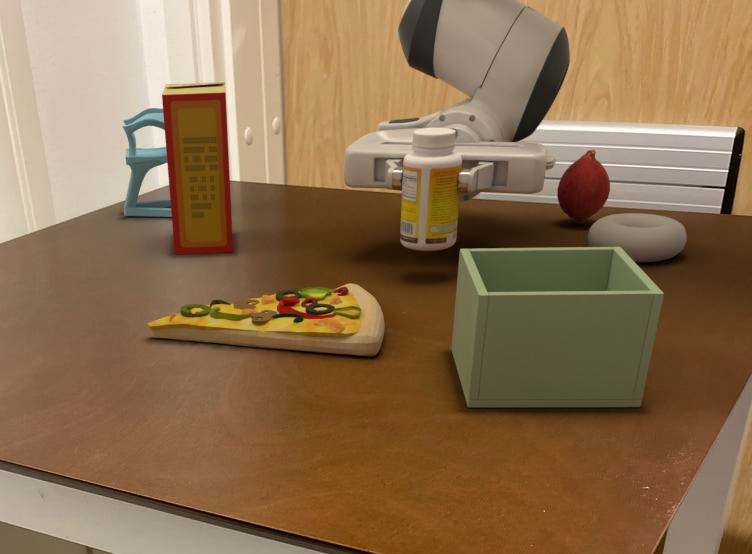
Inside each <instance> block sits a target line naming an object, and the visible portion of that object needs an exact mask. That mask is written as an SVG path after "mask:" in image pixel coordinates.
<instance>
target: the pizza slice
mask: <svg viewBox="0 0 752 554" xmlns="http://www.w3.org/2000/svg"><path fill="white" fill-rule="evenodd" d="M146 324H147V328H148V329H149V331H150V335H151V338H154V339H169V340H176V341H184V342H185V341H188V342H199V343H201V342H202V343H213V344H223V345H233V346H243V347H251V348H263V349H275V350H287V351H296V352H297V351H298V352H311V353H324V354H335V355H351V356H360V357H375V356H376V355H378V353H379V352H380V350H381V347H382V344H383V341H384V336H385V328H386V327H385V326H386V323H385V318H384V312H383V310H382V307H381V305H380V303H379V302H378V300H377V299H376V298H375V296H374V295H372V294H371V293H370V292H368V291H367V290H365V288H364V287H362V286H360V285H359V284H356V283H351V282H349V283H346V284H344V285H341V286H339V287H337V288H329V287H325V286H324V287H323V286H317V287H315V286H313V287H304V288H301V289H300V290H298V289H283V290H279V291H277V292H276V293H273V294H271V295H267V294H263V295H262V296H261V297H255V298H254V297H253V298H248V299H242V300H237V301H236V302H234V303H229V302H227V301H225V300H223V299H213V300H212V301H211V303H210V304H201V303H199V304H198V303H189V304H183V305H181V306H180V312H179V313H175V312H170V313H169V315H167V316H164V317H161V318H158V319H156V320H152V321H150V322H147V323H146Z"/></svg>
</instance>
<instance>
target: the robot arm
mask: <svg viewBox="0 0 752 554" xmlns="http://www.w3.org/2000/svg"><path fill="white" fill-rule="evenodd" d="M397 33H398V39H399V43H400V47H401V50H402V53H403V55H404V59H405V60H406V62H407V65H408V67H410V68H411V69H414V70H416V71H418V72H421V73H423V74H425V75H427V76H429V77H432V78H434V79H435V80H438V79H439V80H440V81H442V82H444V83H445V84H447V85H449V86H450V87H452V88H454V89H456V90H458V91H459V92H461V93H463V94H465V95H466V96H468V97H467V98H465V99H462V100H460V101H458V102H456V103H455V104H453V105H451V106H450V107H449V108H448V109H446V110H444V111H443V110H439V111H437V112H434V113H431V114H427V115H425V116H419V117H410V118H400V119H399V118H398V119H390V120H383V121H381V122H380V123H378V124H377V128H376V131H372V132H369V133H366V134H364V135H363V136H361V137H359V138H357V139H356V140H355V141H353V142H351V144H349V145H348V146H347V148H345V152H344V159H343V175H344V176H343V177H344V184H345V185H346V186H347V187H349V188H352V189H353V188H354V189H360V188H361V189H383V190H391V191H401V192H402V180H403V160H404V157H405V156H406V155H407V154H408V153H411V152H414V150H413V149H412V146H413V145H412V142H413V132H414V131H415V130H417V129H422V128H448V129H453V130H455V132H456V134H455V148H454V149H453V150H452V151H455V152H457V153H459V154H460V155H461V157H462V169H461V171H460V172H459V176H458V181H459V182H460V183H459V184H458V192H460V197H459V204H460V203H463V202H464V203H465V202H468V201H470V200H472V199H474V198H475V197H477V196H478V195H479V194H481V193H492V194H493V193H496V194H523V195H532V194H537V193H540V192H542V191H543V189H544V185H545V179H546V172H547V171H548V170H552V169H553V168H554V166H555V164H556V162H557V161H556V157H555V156H554V155H548V149H547V147H546V146H545V145H544V144H542V143H537V142H523V140H525V139H527V138H529V137H530V136H532V135H533V134H534V133H535V132H536V130H537V129H538V128H539V126H540V125H541V123H542V122H543V121H544V119H545V118H546V116H547V114H548V112H549V111H550V109H551V108H552V106H553V105H554V102H555V100H556V98H557V96H558V94H559V92H560V90H561V88H562V86H563V84H564V81H565V79H566V76H567V73H568V70H569V67H570V62H571V55H570V42H569V37H568V33H567V30H566V27H564V26H562V25H561V24H559V23H557V22H555V21H554V20H553V19H551V18H549V17H548V16H546V15H545V14H543V13H541V12H539V11H538V10H536V9H534V8H533V7H531V6H529V5H528V6H527V5H525V4H523V3H522V2H520V1H518V0H407V2H406V4H405V6H404V7H403V10H402V13H401V17H400V20H399V25H398V28H397ZM521 141H522V142H521Z"/></svg>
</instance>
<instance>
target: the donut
mask: <svg viewBox="0 0 752 554" xmlns="http://www.w3.org/2000/svg"><path fill="white" fill-rule="evenodd" d="M687 237H688V235H687V232H686V228H685V226H684V225H683V224H682V223H681V222H680V221H678V220H676V219H674V218H671V217H669V216H665V215H659V214H653V213H637V212H636V213H635V212H632V213H631V212H630V213H617V214H615V213H613V214H610V215H605V216H603V217H600V218H599V219H597V220H596V221H595V222H594V223H592V225H591V226H590V227H589V230H588V233H587V243H588V247H621V248H622V249H623V250H624V251H625V252H626V253H627V255H628V256H629V257H630V258H631V259H632V260H633V261H634V262H635V263H638V264H639V263H642V264H643V263H657V262H662V261H666V260H669V259H672V258H674V257H675V256H676V255H678V254H679V253H680V252H681V251H682V250H683V249H684V248H685V246H686V243H687V240H688V239H687Z"/></svg>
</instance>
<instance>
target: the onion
mask: <svg viewBox="0 0 752 554" xmlns="http://www.w3.org/2000/svg"><path fill="white" fill-rule="evenodd" d="M596 154H597V153H596V149H595V148H590V149H588V150H587V151H586V152H585V153H584V154H582V155H581V156H580V157H579V158H578V159H577V160H575V161H573V163H572V164H570V165H569V166H568V168H566V169H565V171H564V173H563V174H562V176H561V177H560V180H559V182H558V186H557V193H556V194H557V197H556V198H557V202H558V204H559V208H560V209H561V210H562V211H563V213H564V214H566V215H567V216H568V217H569V218H570V220H572V221H573V222H574V223H576V224H578V225H579V224H581V225H582V224H584V223H585V222H586V221H587V220H589V219H590V218H591V217H593V216H594V215H595V214H596V213H598V212H599V211H600V210H601V209H602V208H603V207H604V206H605V204H606V202H607V201H608V199H609V196H610V192H611V181H610V176H609V174H608V172H607V170H606V168H605V167H604V166H603V164H602V163H601V162H600V161H599V160H598V159H597V158H596Z"/></svg>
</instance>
